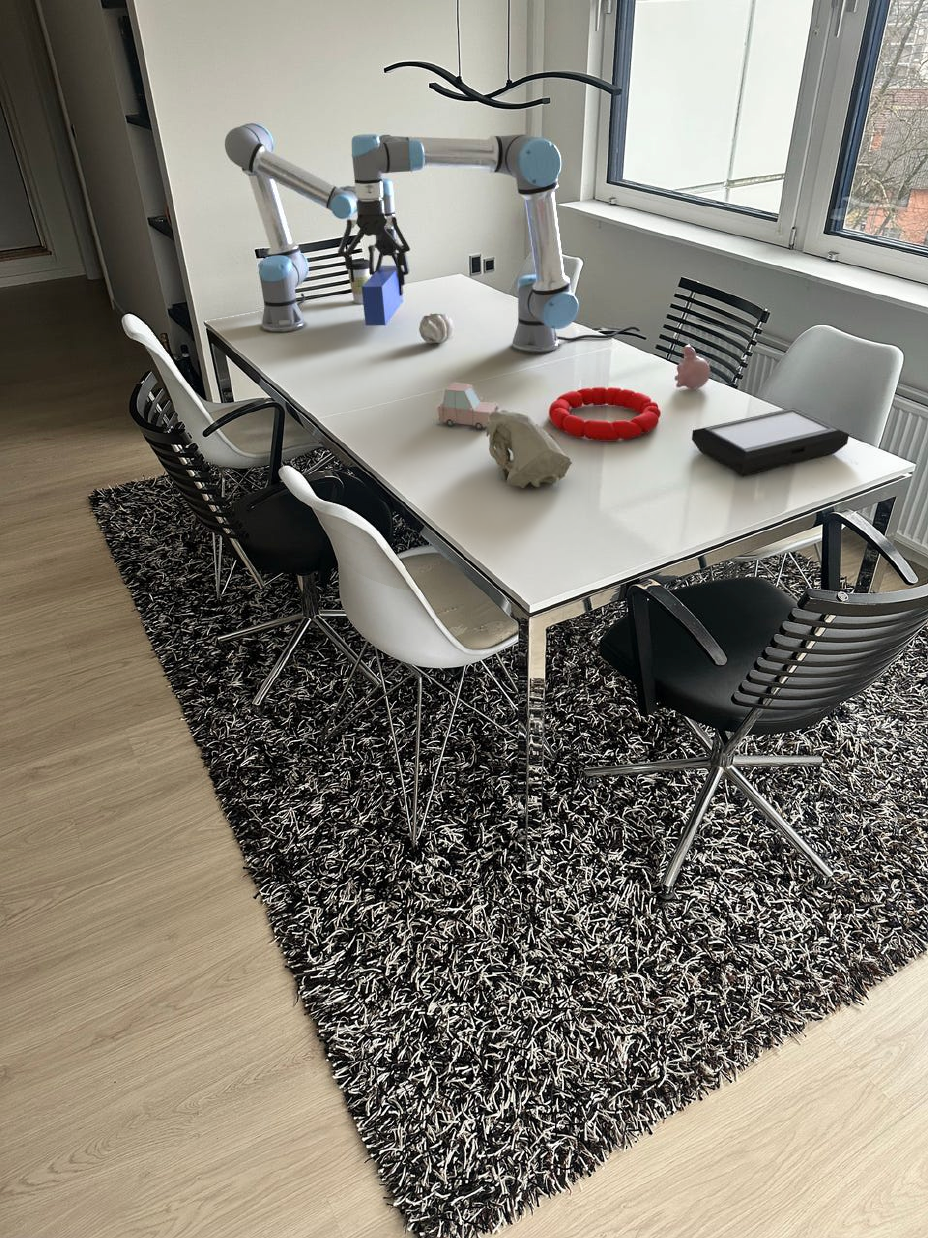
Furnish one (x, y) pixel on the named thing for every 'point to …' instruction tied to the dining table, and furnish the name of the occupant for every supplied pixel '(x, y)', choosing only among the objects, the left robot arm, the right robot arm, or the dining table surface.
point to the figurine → (692, 370)
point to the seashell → (436, 328)
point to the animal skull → (525, 450)
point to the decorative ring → (604, 428)
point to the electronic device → (769, 441)
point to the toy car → (465, 406)
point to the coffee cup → (359, 278)
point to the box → (381, 296)
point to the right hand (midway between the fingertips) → (376, 279)
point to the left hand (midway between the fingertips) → (391, 294)
